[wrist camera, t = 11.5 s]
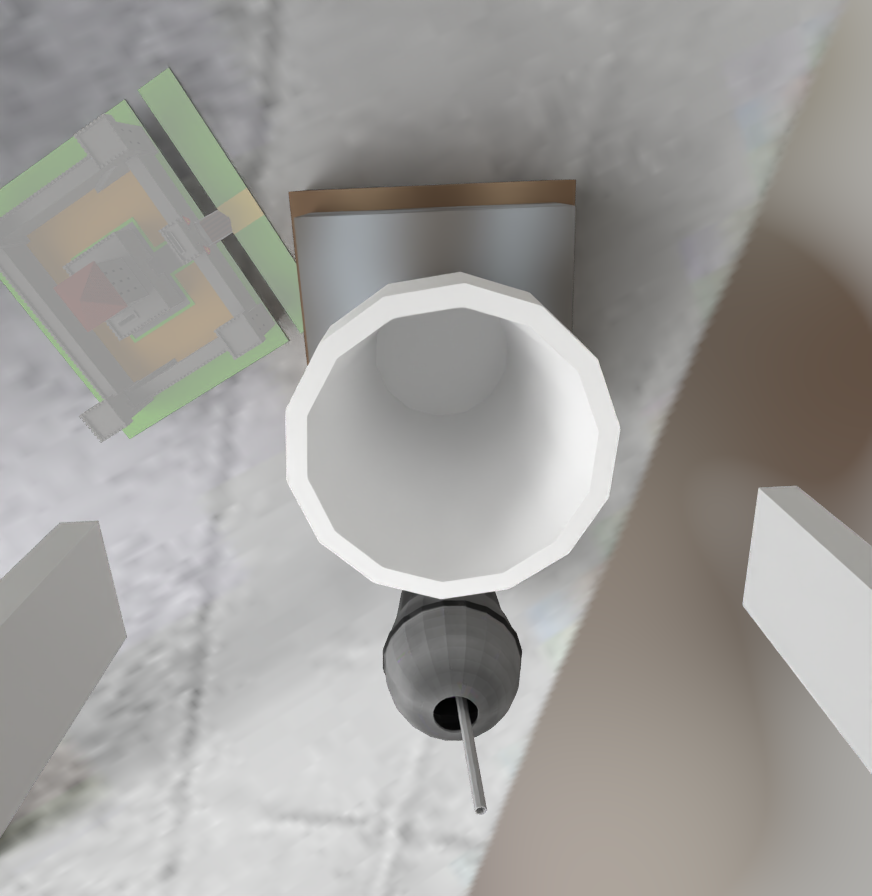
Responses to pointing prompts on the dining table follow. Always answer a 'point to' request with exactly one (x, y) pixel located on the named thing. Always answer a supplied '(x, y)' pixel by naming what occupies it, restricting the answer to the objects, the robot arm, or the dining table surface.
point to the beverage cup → (453, 669)
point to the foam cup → (450, 437)
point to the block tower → (431, 242)
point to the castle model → (143, 262)
